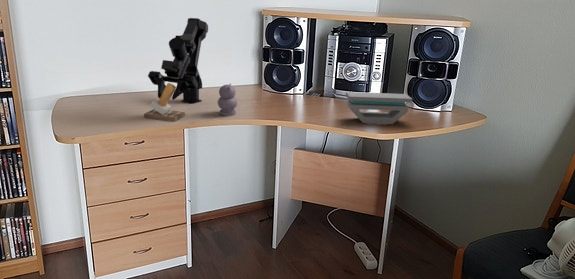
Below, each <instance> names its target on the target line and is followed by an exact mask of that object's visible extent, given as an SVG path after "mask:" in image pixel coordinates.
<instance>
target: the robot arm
mask: <svg viewBox="0 0 575 279" xmlns="http://www.w3.org/2000/svg"><path fill="white" fill-rule="evenodd" d="M186 21H187V22H186V26H185V28H184V31H183V33H182V34H181V35H175V37H172V38H171V39H170V40H169V42H168V46H169V49H170V52H171V55H172V57H174V58H173V60H167V59H163V60H162V63H161V67H160V69H161V70H164V74H165V75H163V74H162V72H160V71H157V70H156V71H154V70H150V71H149V72H148V74H147V77H148V79H149V80H150V82H151V83H152V85H154V86H155V85H156V86H157V98H160V97H161V95H162V93H163V91H164V89H165V87H166V85H167V84H166V82H168V83H171V84H173V83H175V84H176V86H175V87H176V89H175V90H174V92H173V94H172V96H171V100H173V101H175V99H177V98H178V97H179V96H181V95H182V99H181V100H180V101H181V102H184V103H188V104H191V105H192V104H196V103H199V102H202V99H200V89H203V81H202V78H201V75H200V72H199V69H198V65H199V58H200V53H201V46H202V42H203V41H204V40H205V39H206V37H207V34H208V32H209V25H208V23H207V22H206V21H203V20H201V18H199V17H197V18H196V17H188V18H187V20H186Z"/></svg>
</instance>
